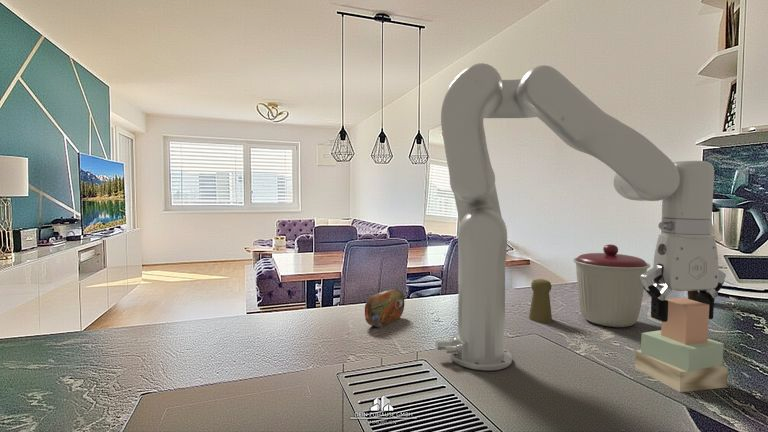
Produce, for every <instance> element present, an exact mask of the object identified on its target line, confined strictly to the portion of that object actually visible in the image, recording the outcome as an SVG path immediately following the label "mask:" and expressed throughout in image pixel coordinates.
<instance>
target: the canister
mask: <svg viewBox="0 0 768 432" xmlns="http://www.w3.org/2000/svg"><path fill="white" fill-rule="evenodd" d="M602 248H603V249H602V250H603V252H591V253H583V254H582V253H581V254H580V255H578V256H577V257H574V258H573V259H572V260H573V263H575V270H576V281H577V292H578V301H579V309H580V313H581V315H582V317H583V318H584V319H585V320H587V321H588V322H590V323H592V324H596V325H599V326H604V327H610V328H611V327H612V328H628V327H631V326H633V325H635V324H636V323H637V321H638V320H639V316H640V313H641V306H642V303H643V297H644V292H645V289H644V285H643V284H642V281H641V279H640V276H641V275H642V274H644V273H645V272H647V271H648V269H649V268H651V263H648V262H646V261H645V260H644V259H643V258H640V257H637V256H633V255H627V254H620V253H618V252H619V247H618V246H617V245H614V244H612V243H611V244H606V245H604V246H603V247H602Z"/></svg>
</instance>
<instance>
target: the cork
mask: <svg viewBox="0 0 768 432" xmlns="http://www.w3.org/2000/svg"><path fill="white" fill-rule="evenodd" d="M530 284H531V285H530V286H531V290H532V291H533V292H532V296H531V303H530V308H529V316H528V320H530V321H533V322H536V323H542V324H543V323H551V322H552V321H553V315H552V306H551V299H550V297H551V296H550V292H551V291H552V283H551V282H550V281H549V280H548V279H542V278H536V279H533V280H532V282H531V283H530Z"/></svg>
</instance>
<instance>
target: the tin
mask: <svg viewBox="0 0 768 432" xmlns="http://www.w3.org/2000/svg"><path fill="white" fill-rule="evenodd" d="M404 310H405V298H404V295H403V292H402V291H401V290H399V289H387V290H384V291H380V292H378V293H376V294H373V295H370V297H368V298H367V300H366V301H365V305H364V317H365V322H366V323H367V324H368V325H369V326H370V327H376V328H382V327H381V326H383V327H385V326H386V324H387V325H389V324H391V323H393V321H394V322H396V321H398V320H399V319H400V318H401V317H402V315H403V314H404ZM388 323H389V324H388ZM384 325H385V326H384Z"/></svg>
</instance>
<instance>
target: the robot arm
mask: <svg viewBox="0 0 768 432" xmlns="http://www.w3.org/2000/svg"><path fill="white" fill-rule="evenodd" d="M440 111H441V112H440V126H441V133H442V140H443V146H444V152H445V157H446V163H447V168H448V174H449V176H448V177H449V185H450V189H451V191H452V193H453V196H454V201H455V206H456V211H457V216H458V220H459V227H458V231H457V235H458V236H457V248H458V249H457V250H458V251H457V252H458V253H457V254H458V255H457V257H458V263H457V265H458V274H457V275H458V276H457V277H458V283H457V284H458V299H457V300H458V302H457V303H458V306H457V307H458V308H457V312H458V313H457V317H458V318H457V333H453V338H449V339H448V340H435V344H434V345H435V349H436V351H444V352H445V354H450V358H451V360H452V361H453V362H454V363H456V364H457V365H459V366H462V367H464V368H467V369H471V370H477V371H490V372H491V371H499V370H502V369H506V368H507V367H510V365H511V364H512V362H513V356H512V354H511V352H510V351H509V350H507V349H505V333H506V331H505V330H506V328H505V325H506V324H505V322H506V321H505V320H506V319H505V318H506V267H507V266H506V265H507V250H508V249H507V248H508V230H507V225H506V223H505V221H504V219H503V217H502V212H501V208H500V202H499V196H498V192H497V187H496V175H495V171H494V169H493V167H492V163H491V159H490V154H489V148H488V144H487V138H486V133H485V126H484V119H531V118H538V119H539V120H540V121H541V122H543V123H544V124H545V125H546V126H547V127H548V128H549V129H550V130H551V131H552V132H553V133H554V134H555V135H556V136H557V137H558V138H560V139H561V141H563V142H564V144H566V145H567V146H569V147H570V148H572V149H573V150H576V151H579V152H580V153H584V154H587V155H589V156H592V157H593V158H595V159H596V160H599V161H600V162H602V163H603V164H605V165H606V166H607V167H608V168H610V169H611V170H612V171H613V172H614V173H615V175H614V177H613V186H614V189H615V191H616V193H617V194H619V196H621V197H623V198H624V199H626V200H630V201H637V202H638V201H640V202H641V201H642V202H644V201H646V202H659V201H661V221H660V222H659V223H658V228H659V230H660V234H659V235H658V237H657V241H656V245H655V251H654V257H653V266H652V267H651V269H649V270H647V272H645V273H644V274H642V275H641V276H640V279H641V281H642V284H643V285H644V292H645V293H647V295H648V297H649V298H651V300H650V301H651V303H650V306H651V307H650V317H651V318H653V319H655V320H658V321H660V322H661V323H662V322H667V320H668V301H667V300H665V299H667V298H668V296H669V295H670V294H671V292H672V291H676V292H687V291H698V292H699V294H700V295H699V294H696V301H697V302H701V303H705V304H708V305H709V320H713V319H714V312H715V311H714V310H715V307H714V306H715V300H714V298H715V299H716V298H717V297H718V295H719V294H718V292H720V290H721V289H722V287H723V285H722V283H723V281H724V282H725V278H726V276H727V274H726V273H725V272H724V271H721V270H720V269H719V256H718V255H719V254H718V247H717V241H716V239H715V236H714V235H712V224H713V222H712V221H713V201H714V199H713V198H714V182H715V181H714V180H715V168H714V165H713V164H712V163H711V162H709V161H706V160H681V161H674V162H673V160H672V159H670V158H669V156H667V155H666V154H665V153H664V152H663V151H662V150H661V149H660V148H659V147H657V145H656V144H654V143H653V142H652V141H651V140H649V139H648V138H647V137H645V136H644V135H643V134H642V133H640V132H639V131H637V130H636V129H634V128H633V127H631V126H628V125H626V124H625V123H624V122H623V121H620V120H618V119H617V118H615V117H613V116H612V115H610V114H608V113H606V112H605V111H603V110H602V109H601V108H600V107H599V106H598V105H597V104H595V103H594V101H592V100H591V99H590V98H589V97H588V96H586V94H585V93H584V92H582V91H581V90H580V89H579V88H578V87H576V85H575V84H573V83H572V82H571V81H570V80H569V79H568V78H567V77H566V76H564V75H563V74H562V73H561V72H560V71H558V70H557V69H556V68H555V67H552V66H551V65H545V64H544V65H537V66H535V67H533V68H531V69H530V70H528V71H527V72H526V73H525V74H524V75H523V77H522V78H517V79H502V76H501V74H500V73H499V71H498V70H497V69H496V68H495V67H493V65H490V64H488V63H485V62H483V63H481V62H480V63H474V64H471V66H468V67H467V68H465V69H463V70H462V71H461V72H460V73H459V74H458V75H456V77H455V78H454V80H453V81H452V82H451V83H450V84H449V87H448V88H447V90H446V93H445V95H444V97H443V100H442V105H441V110H440ZM723 284H724V283H723ZM660 290H661V291H660Z"/></svg>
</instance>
